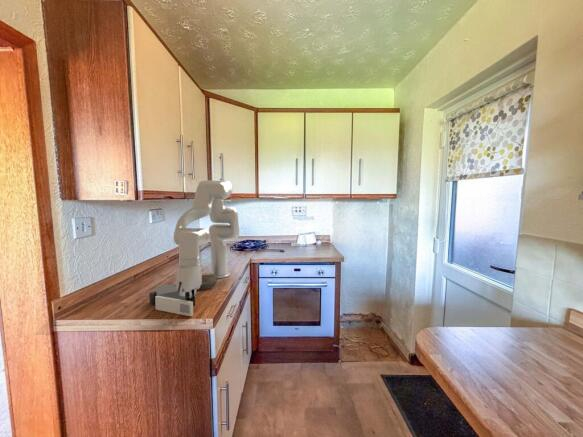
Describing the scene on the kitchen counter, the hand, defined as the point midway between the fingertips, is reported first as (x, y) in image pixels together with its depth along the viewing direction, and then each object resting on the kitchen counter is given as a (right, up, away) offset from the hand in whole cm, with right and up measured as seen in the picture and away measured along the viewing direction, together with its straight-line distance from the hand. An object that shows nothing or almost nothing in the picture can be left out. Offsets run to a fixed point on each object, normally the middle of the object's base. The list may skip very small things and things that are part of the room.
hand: (190, 305), depth 98 cm
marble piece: (-8, -1, +31) cm, 33 cm away
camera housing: (-14, -2, +11) cm, 18 cm away
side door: (-7, -2, -1) cm, 7 cm away
